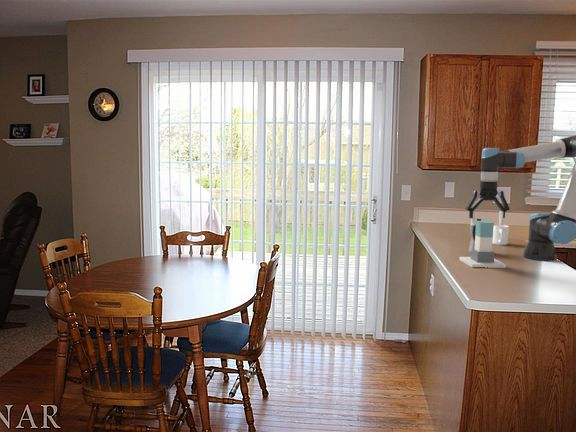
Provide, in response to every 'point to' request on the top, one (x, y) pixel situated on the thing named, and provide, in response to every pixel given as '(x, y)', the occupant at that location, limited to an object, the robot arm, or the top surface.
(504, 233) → the mug
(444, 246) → the top surface
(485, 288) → the top surface
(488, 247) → the cream block
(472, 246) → the coffee maker
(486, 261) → the tower base
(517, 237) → the top surface
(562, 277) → the top surface
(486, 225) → the teal block
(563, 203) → the robot arm
